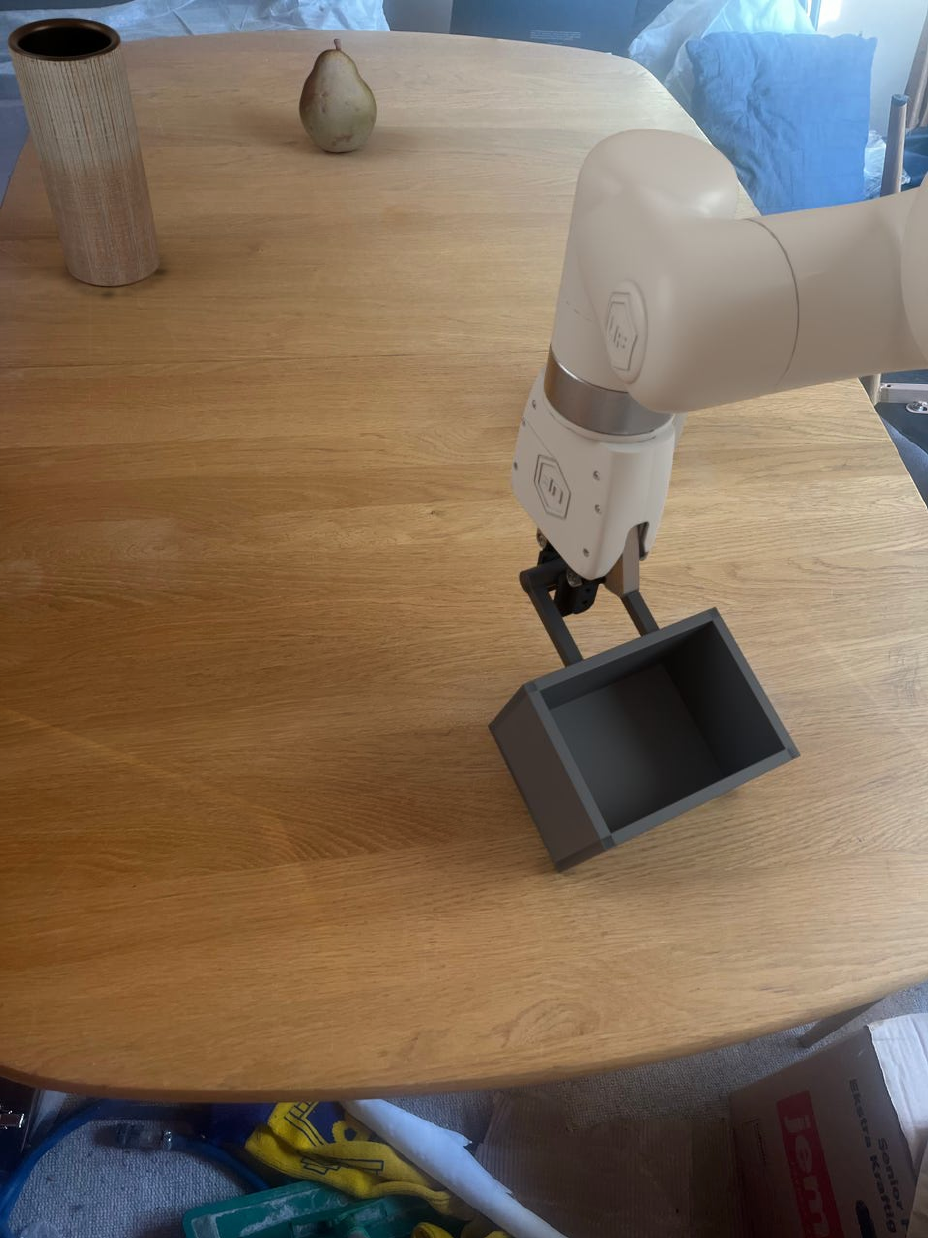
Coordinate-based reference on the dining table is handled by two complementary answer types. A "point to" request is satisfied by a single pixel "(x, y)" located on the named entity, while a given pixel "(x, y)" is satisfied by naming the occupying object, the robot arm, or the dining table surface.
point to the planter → (87, 147)
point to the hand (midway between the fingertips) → (562, 597)
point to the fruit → (337, 103)
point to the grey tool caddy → (633, 727)
